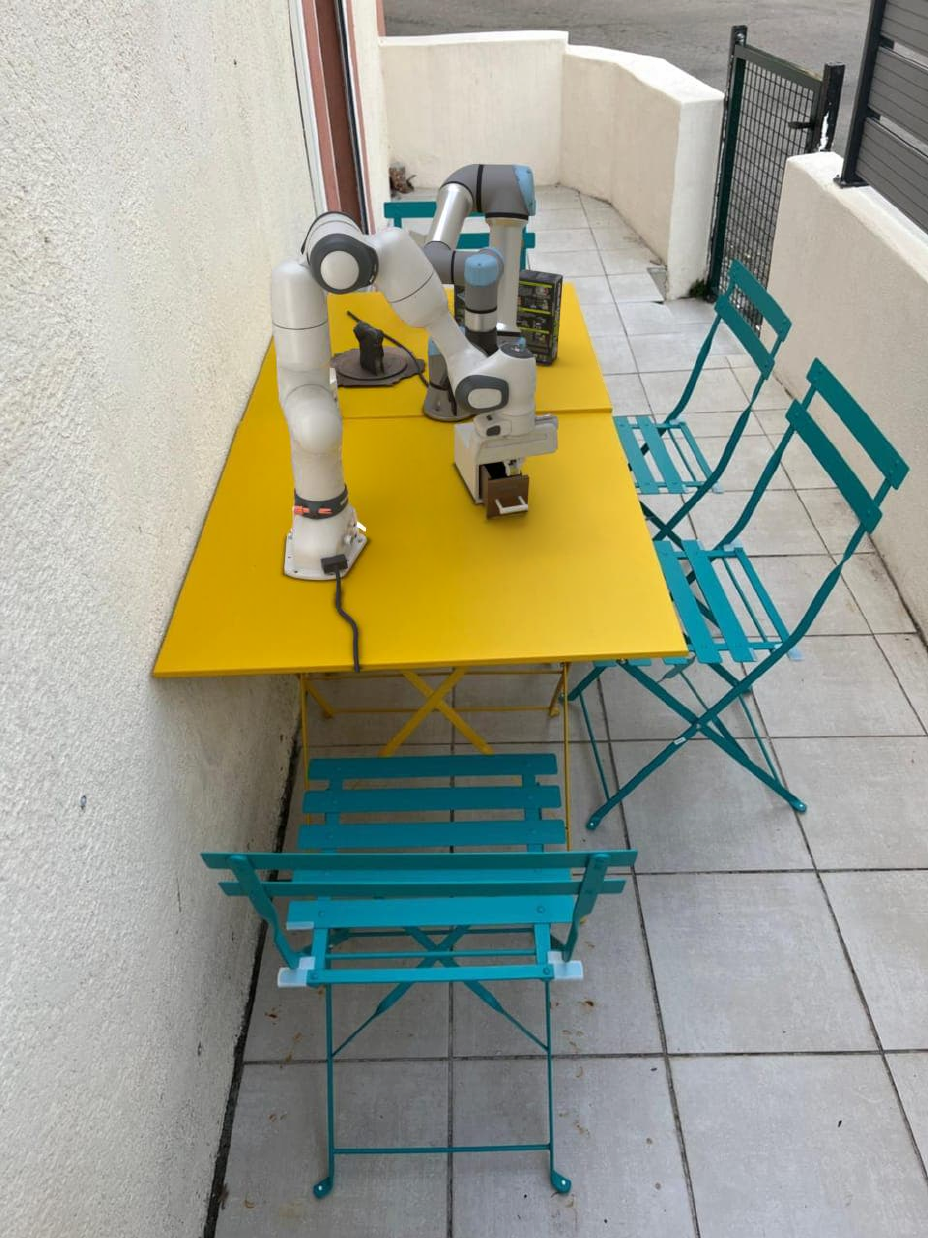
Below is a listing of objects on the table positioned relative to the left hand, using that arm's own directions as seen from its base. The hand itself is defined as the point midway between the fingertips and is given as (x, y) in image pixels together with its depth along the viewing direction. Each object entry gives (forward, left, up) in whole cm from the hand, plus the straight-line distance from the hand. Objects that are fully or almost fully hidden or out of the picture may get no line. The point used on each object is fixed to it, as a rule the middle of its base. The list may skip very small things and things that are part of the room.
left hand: (512, 473), depth 203 cm
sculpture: (+83, +49, -14) cm, 97 cm away
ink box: (+49, +56, -14) cm, 76 cm away
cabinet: (+19, +8, -14) cm, 25 cm away
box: (+97, +7, -14) cm, 98 cm away
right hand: (+24, +9, +3) cm, 26 cm away
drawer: (+8, +3, -13) cm, 16 cm away
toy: (+123, +34, -14) cm, 128 cm away
